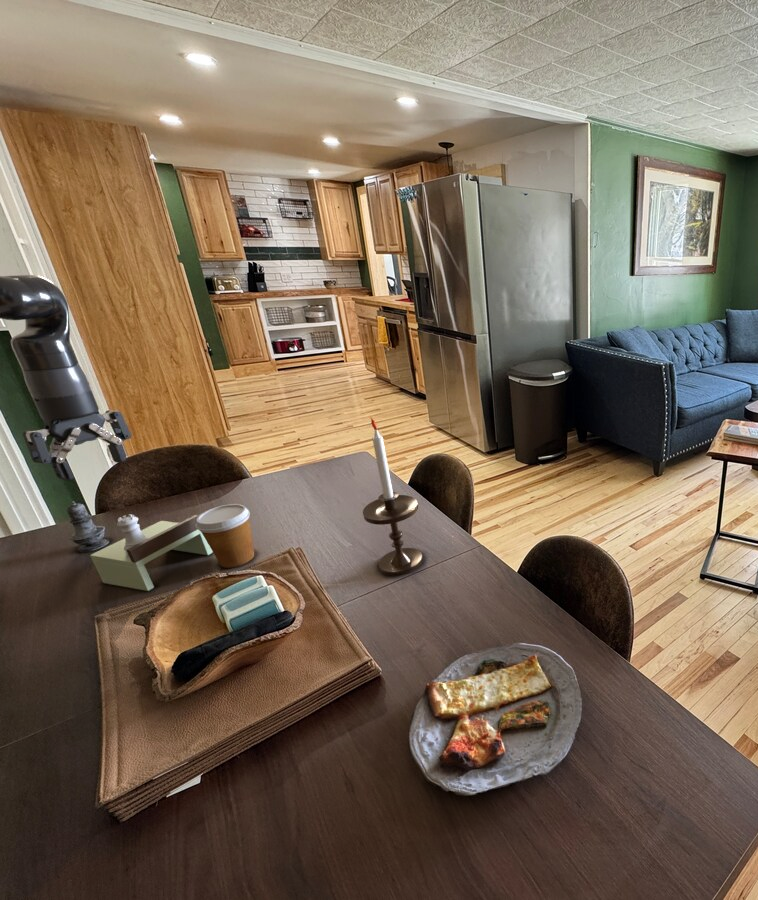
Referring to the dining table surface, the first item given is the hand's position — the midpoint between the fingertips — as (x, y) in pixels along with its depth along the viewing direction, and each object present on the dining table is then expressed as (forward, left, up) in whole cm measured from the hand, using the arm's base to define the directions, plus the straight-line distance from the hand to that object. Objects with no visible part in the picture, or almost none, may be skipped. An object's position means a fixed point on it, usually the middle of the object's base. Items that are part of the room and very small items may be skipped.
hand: (95, 470), depth 93 cm
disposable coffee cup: (+16, +9, -25) cm, 31 cm away
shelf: (+2, +3, -25) cm, 25 cm away
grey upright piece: (-22, +6, -25) cm, 34 cm away
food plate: (+90, -15, -25) cm, 95 cm away
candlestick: (+53, +16, -25) cm, 60 cm away
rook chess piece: (+4, -1, -18) cm, 18 cm away
